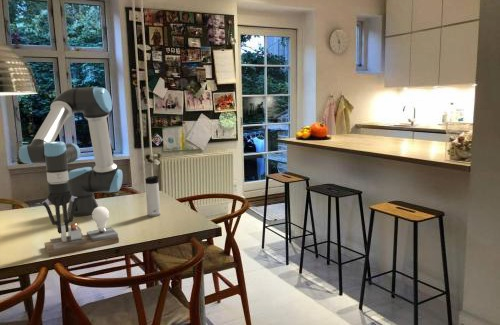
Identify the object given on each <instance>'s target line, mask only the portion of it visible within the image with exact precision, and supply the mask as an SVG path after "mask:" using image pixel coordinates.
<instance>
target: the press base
mask: <svg viewBox="0 0 500 325" xmlns="http://www.w3.org/2000/svg"><path fill="white" fill-rule="evenodd" d="M66 238H67V241H64V242H63V241H62V239H61V236H60V237H55V238H51V239H50V240H49V241H46V242H44V249H45V251H46V253H47V255H48V257H49V258H51V257H55V256H60V255H64V254H70V253H74V252H79V251H85V250H90V249H93V248H98V247H102V246H108V245H112V244H116V243H117V244H118V243H119V242H120V239H119V233H118V232H117V231H116V230H115V229H114V228H112V227H105V231H104V232H99V231H98V229H95V230H90V231H86V234H84V235H83V234H82V239H81V240H76V241H71V242H70V241H69V238H68V235H66Z"/></svg>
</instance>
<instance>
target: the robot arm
mask: <svg viewBox="0 0 500 325" xmlns="http://www.w3.org/2000/svg"><path fill="white" fill-rule="evenodd" d="M111 97H112V96H111V94H110V92H109V90H107V89H106V88H104V87H98V86H97V87H96V86H91V87H71V88H68V89H66V90H64V91H63V92H61V93H60V94H58V95H57V96H56V97H55V98H54V100H52V102H51V104H50V110H49V113H48V114H47V116H46V117H45V119H44V120H43V122H42V124H41V125H40V127H39V128H38V131H37V132H36V134H35V135H34V138H33V139H32V141H31V143H30V144H24V145H22V146H20V147H19V149H18V157H19V160H20V162H22V163H23V164H30V165H34V164H35V165H36V164H45V168H46V169H45V171H46V180H47V190H48V196H47V198H46V199H45V200H42V202H41V204H42V205H43V206H44V207H45V209H46V212H47V214H48V216H49V219H50V222H51V224H52V225H53V226H56V229H57V233H58V234H60V237H61V239H62V241H63V242H64V241H67V238H66V236H67V233H68V231H69V223H70V224H71V223H73V221H74V217H82V216H85V217H86V216H89V215H90V216H91V215H92V212H93V210H94V209H95V208H97V207H99V205H98V202H97V200H96V198H95V194H94V193H109V194H110V193H116V192H119V191H120V189H121V188H122V184H123V179H124V177H123V176H124V175H123V171H122V169H119V168H118V165H117V164H116V163H115V162H114V158H113V153H112V152H113V151H112V144H111V139H110V132H109V126H108V125H109V124H108V117H109V115H110V112H111V111H112V109H113V101H112V98H111ZM74 113H82V114H83V118H84V119H86V120H87V122H88V128H89V134H90V139H91V145H92V151H93V157H94V163H95V165H94V166H93V167H91V166H84V167H78V168H75V169H72V170H69V167H68V164H70V163H73V162H75V161H77V160H78V159H79V158H80V156H81V149H80V147H79V146H78V145H77V144H76V143H73V142H71V143H65V142H64V141H56V139H57V138H58V135H59V133H60V132H61V130H62V128H63V126H64V124H65V122H66V121H67V119H68V118H70V117H71V116H72V114H74ZM50 203H51V204H52V205H53V206H54V209H55V217H54V215H53V213H52V210H51V208H50V206H49V205H50ZM60 206H62V215H63V217H62V218H63V223H62V221H61V210H60V209H61V208H60Z"/></svg>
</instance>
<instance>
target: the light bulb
mask: <svg viewBox="0 0 500 325" xmlns="http://www.w3.org/2000/svg"><path fill="white" fill-rule="evenodd" d="M91 217H92V219H93V221H94V222H95V223H96V227H97V230H98V231H99V232H104V231H105V228H106V226H107V221H108V219H109V217H110V212H109V209H107V207H105V206H102V205H101V206H98V207H97V208H95V209H94V210H93V212H92V214H91Z"/></svg>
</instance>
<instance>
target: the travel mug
mask: <svg viewBox="0 0 500 325" xmlns="http://www.w3.org/2000/svg"><path fill="white" fill-rule="evenodd" d="M159 177H160V176H159V175H153V176H148V177H146V178H145V196H146V197H145V198H146V211H147V212H146V216H148V217H151V218H153V217H159V216H160V215H161V205H160V204H161V202H160V201H161V200H160V189H159V188H160V186H159V185H160V184H159Z"/></svg>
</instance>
